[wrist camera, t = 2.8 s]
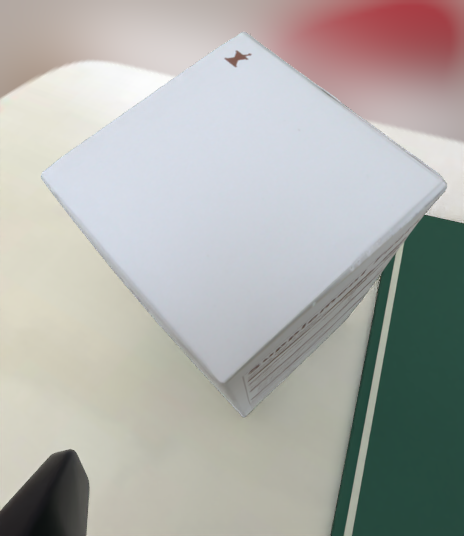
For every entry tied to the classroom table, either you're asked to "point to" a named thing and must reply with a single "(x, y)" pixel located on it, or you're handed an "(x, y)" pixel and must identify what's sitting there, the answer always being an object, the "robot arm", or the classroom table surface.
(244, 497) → the classroom table surface
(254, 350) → the white packaging box
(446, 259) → the green mat
